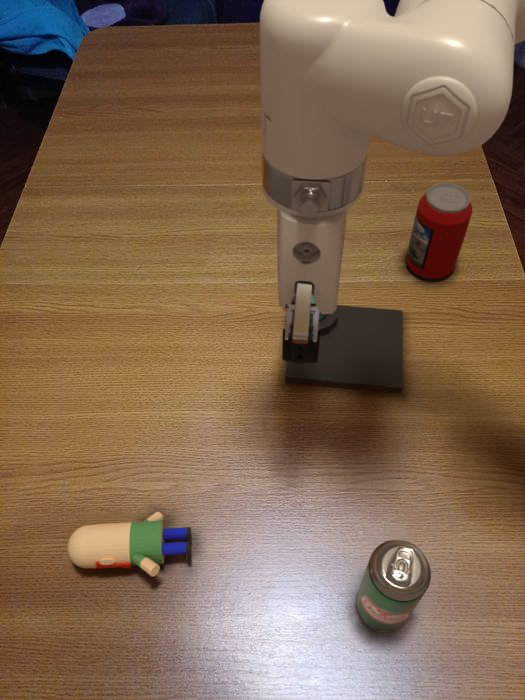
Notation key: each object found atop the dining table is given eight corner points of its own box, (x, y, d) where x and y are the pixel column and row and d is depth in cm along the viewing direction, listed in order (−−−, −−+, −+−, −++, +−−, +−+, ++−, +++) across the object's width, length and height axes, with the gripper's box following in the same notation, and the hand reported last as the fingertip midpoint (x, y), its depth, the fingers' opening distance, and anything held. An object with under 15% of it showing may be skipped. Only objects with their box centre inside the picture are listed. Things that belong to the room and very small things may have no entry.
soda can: (348, 621, 58) (362, 584, 49) (363, 570, 61) (379, 526, 51) (401, 642, 57) (425, 608, 48) (413, 589, 60) (439, 548, 50)
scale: (400, 312, 81) (404, 297, 79) (401, 393, 73) (405, 379, 71) (289, 303, 82) (289, 288, 80) (278, 382, 75) (278, 368, 72)
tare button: (327, 301, 79) (328, 292, 78) (325, 323, 77) (326, 314, 75) (299, 299, 79) (300, 290, 78) (297, 321, 77) (297, 311, 76)
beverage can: (406, 245, 88) (422, 176, 79) (454, 251, 88) (476, 182, 78) (403, 279, 85) (419, 211, 75) (453, 285, 84) (476, 217, 74)
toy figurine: (192, 529, 66) (78, 535, 65) (190, 496, 64) (72, 503, 63) (191, 590, 59) (63, 599, 58) (188, 556, 57) (56, 564, 56)
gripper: (363, 256, 40) (340, 398, 53) (365, 104, 50) (345, 256, 64) (248, 248, 40) (254, 391, 54) (273, 100, 50) (273, 252, 64)
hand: (303, 318), depth 59 cm, fingers open, 9 cm apart
